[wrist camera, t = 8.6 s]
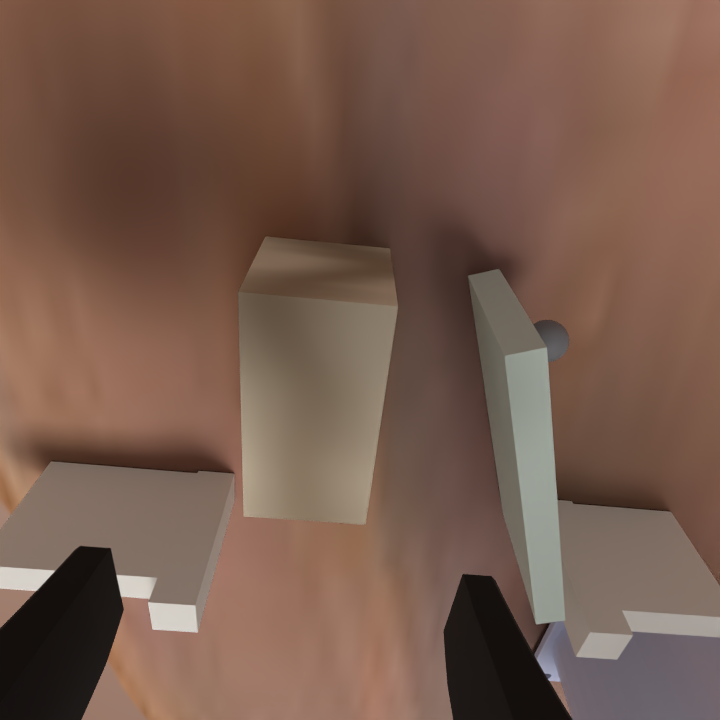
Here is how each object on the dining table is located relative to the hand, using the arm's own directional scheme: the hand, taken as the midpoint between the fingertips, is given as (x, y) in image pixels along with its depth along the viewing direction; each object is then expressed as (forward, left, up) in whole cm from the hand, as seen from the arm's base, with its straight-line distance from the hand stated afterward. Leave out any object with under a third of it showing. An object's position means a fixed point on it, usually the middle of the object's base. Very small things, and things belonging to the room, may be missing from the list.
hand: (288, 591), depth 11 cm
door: (-8, +1, -9) cm, 12 cm away
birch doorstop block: (0, 0, -10) cm, 10 cm away
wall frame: (-3, +7, -9) cm, 12 cm away
